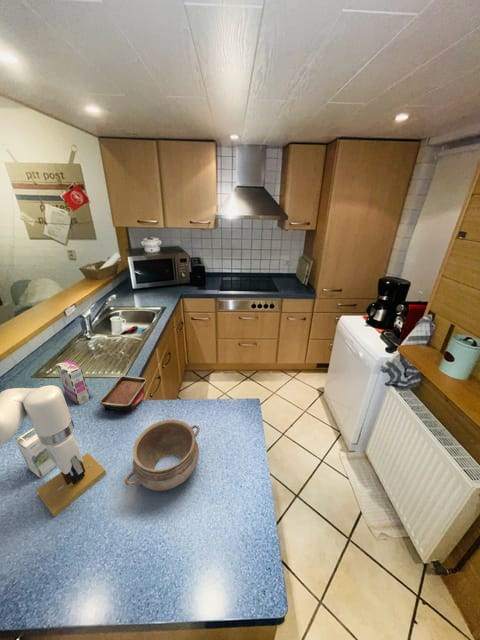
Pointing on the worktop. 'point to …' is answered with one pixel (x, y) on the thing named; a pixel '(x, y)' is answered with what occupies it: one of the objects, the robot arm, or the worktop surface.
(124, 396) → the baking dish
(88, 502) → the worktop surface
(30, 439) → the syrup box
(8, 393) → the robot arm
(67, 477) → the lock knob
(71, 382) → the candy bar box
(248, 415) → the worktop surface
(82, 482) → the plate
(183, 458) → the cooking pot
